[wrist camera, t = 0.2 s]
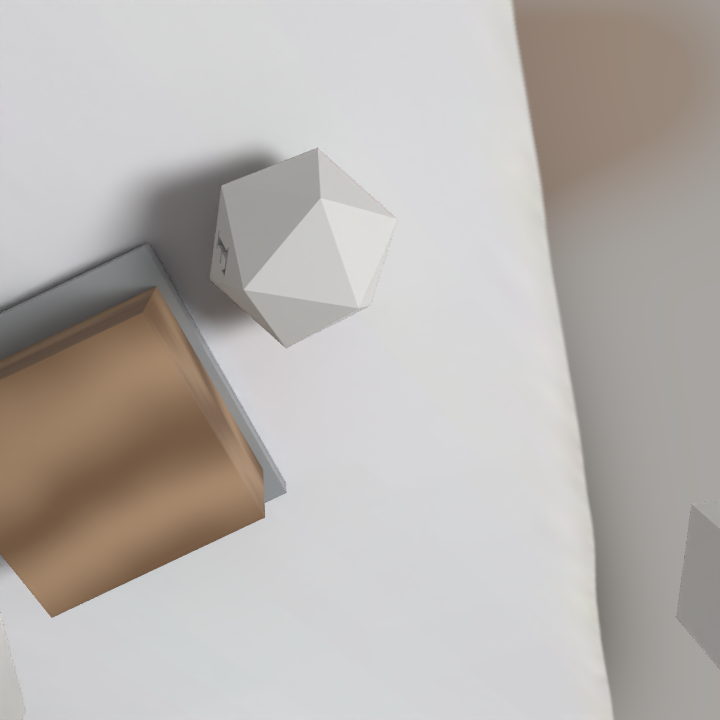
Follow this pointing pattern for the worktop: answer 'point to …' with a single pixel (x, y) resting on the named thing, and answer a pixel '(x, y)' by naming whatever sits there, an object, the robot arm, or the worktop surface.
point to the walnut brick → (116, 455)
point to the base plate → (107, 290)
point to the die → (300, 245)
